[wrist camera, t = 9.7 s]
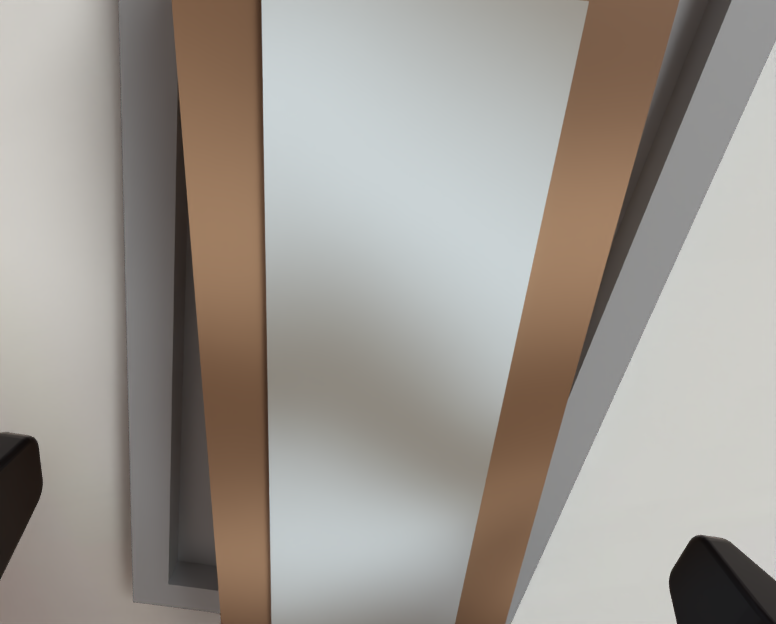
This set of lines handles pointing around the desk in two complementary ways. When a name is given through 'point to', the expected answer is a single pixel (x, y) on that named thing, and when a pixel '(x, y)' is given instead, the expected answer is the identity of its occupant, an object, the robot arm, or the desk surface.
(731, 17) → the display tray
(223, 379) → the wooden box
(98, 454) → the desk surface
